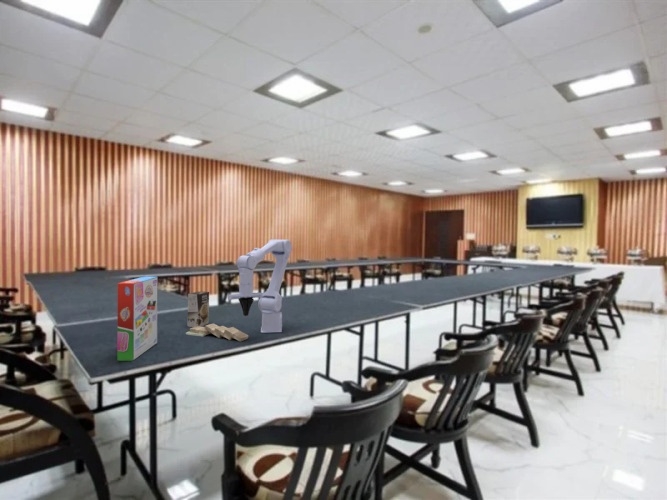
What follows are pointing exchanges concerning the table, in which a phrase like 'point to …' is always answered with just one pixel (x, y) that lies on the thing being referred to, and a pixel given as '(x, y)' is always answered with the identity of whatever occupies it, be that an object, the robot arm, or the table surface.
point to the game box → (136, 317)
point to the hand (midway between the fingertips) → (245, 315)
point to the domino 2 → (195, 334)
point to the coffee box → (198, 309)
